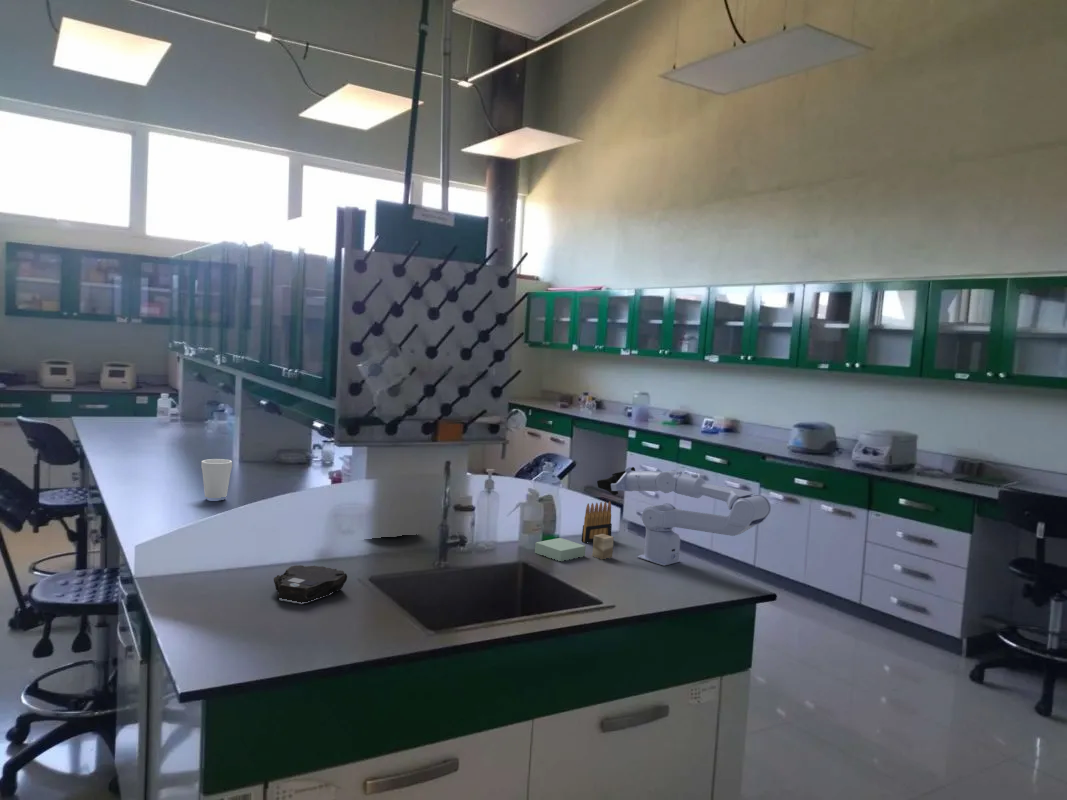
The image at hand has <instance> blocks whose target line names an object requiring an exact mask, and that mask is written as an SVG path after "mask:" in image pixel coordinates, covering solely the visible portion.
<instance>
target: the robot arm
mask: <svg viewBox="0 0 1067 800" xmlns="http://www.w3.org/2000/svg"><path fill="white" fill-rule="evenodd" d="M596 483H597V488H599V489H601V490H603V491H606V492H609V493H610V494H611V495H613V496H617V495H618V494H619V491H624V492H659V491H660V492H662V493H664V494H669V493H671V492H674V493H675V494H677V495H682V496H686V497H690V498H694V499H699V498H701V497H702V496H705V497H709V498H712V499H715V500H719V501H723V502H725V503H726V505H727V508H728V510H730V512H729V514H728V515H720V514H715V513H713V514H712V513H705V512H700V511H699V512H698V511H692V510H684V509H682V508H681V507H676V506H675V505H674V504H672V503H669V502H667V503H663V504H658V505H654V506H647V507H645V509H643V511H642V514H641V520H642V523H643V525H644V527H645V538H644V553H642V554H639V555H637V558H639V559H640V560H641V559H642V560H644V561H648V562H651V563H654V564H657V565H661V566H668V565H671V564H677V563H679V562H681V559H680V550H681V549H680V548H681V536H680V534H678V533H676V532H674V531H673V528H679V529H683V530H685V529H686V530H690V531H691V530H692V531H699V532H705V533H710V534H711V533H712V534H717V535H725V536H732V537H734V536H738V535H741V534H742V533H746V532H747V531H748V530H750V529H752V528H753V527H756V526H757V525H760V524H761V523H764V521H765V520H766V519H767V517H768V516H770V513H771V509H772V505H771V502H770V501H769V499H768V498H767V497H766V496H765V495H762V494H756V493H754V492H752V491H749V490H743V489H740V488H738V489H737V488H733V487H728V486H721V485H716V484H712V483H706V481H705V479H704V478H703V477H699V475H698V474H697V473H693V474H685V473H683V472H682V471H679V470H676V469H671V470H669V471H661V470H660V471H657V470H636V468H635V467H634V466H632V467H631V466H627V467H626V468H625V469H624V470H623V471H619V472H614V473H612V476H609V477H608V478H604V479H603V478H602V479H599V480H596Z"/></svg>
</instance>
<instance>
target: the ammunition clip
mask: <svg viewBox="0 0 1067 800" xmlns="http://www.w3.org/2000/svg"><path fill="white" fill-rule="evenodd" d="M612 525H613V523H612V504H611V501H610V500H609V501H608V504H607V501H604V503H602V501H600V503H599V504H598V502H595V505H594V503H593V502H592V503H591V504H590V503H586V507H585V514H584V521H583V525H582V532H581V534H582V535H581V541H582V543H583V542H584V544H588V543H587V542H592V543H593V539H594V535H600V534H605V535H609V536H612V531H613V530H612V527H613V526H612Z"/></svg>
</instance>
